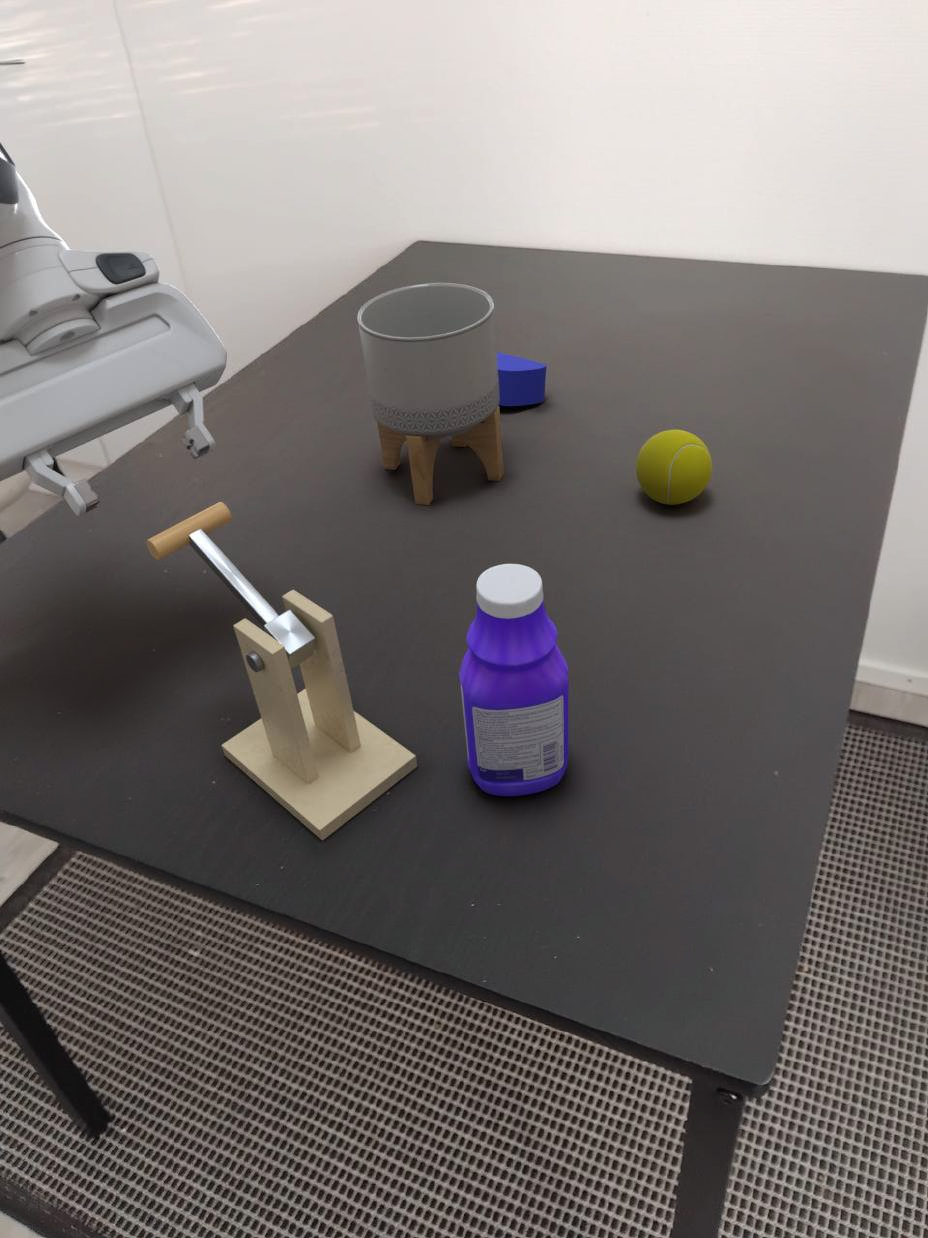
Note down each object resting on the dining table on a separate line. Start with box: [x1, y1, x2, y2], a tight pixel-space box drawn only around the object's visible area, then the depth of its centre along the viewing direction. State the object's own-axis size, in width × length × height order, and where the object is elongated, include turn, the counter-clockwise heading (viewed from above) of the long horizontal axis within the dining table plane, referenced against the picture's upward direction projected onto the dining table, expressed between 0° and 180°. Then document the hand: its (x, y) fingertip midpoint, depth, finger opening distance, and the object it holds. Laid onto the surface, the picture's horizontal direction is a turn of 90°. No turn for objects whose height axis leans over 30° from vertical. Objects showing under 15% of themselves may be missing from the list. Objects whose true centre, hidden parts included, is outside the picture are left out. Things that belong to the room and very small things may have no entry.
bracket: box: [221, 589, 418, 841], centre depth 69 cm, size 12×9×14 cm
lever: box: [145, 501, 316, 670], centre depth 67 cm, size 13×6×2 cm, turn 45°
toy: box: [497, 351, 548, 407], centre depth 114 cm, size 12×6×10 cm
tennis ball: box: [635, 429, 713, 506], centre depth 94 cm, size 7×7×7 cm
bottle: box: [458, 563, 570, 797], centre depth 65 cm, size 7×6×17 cm
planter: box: [356, 282, 504, 506], centre depth 98 cm, size 13×13×18 cm
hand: (149, 479), depth 69 cm, fingers open, 8 cm apart
